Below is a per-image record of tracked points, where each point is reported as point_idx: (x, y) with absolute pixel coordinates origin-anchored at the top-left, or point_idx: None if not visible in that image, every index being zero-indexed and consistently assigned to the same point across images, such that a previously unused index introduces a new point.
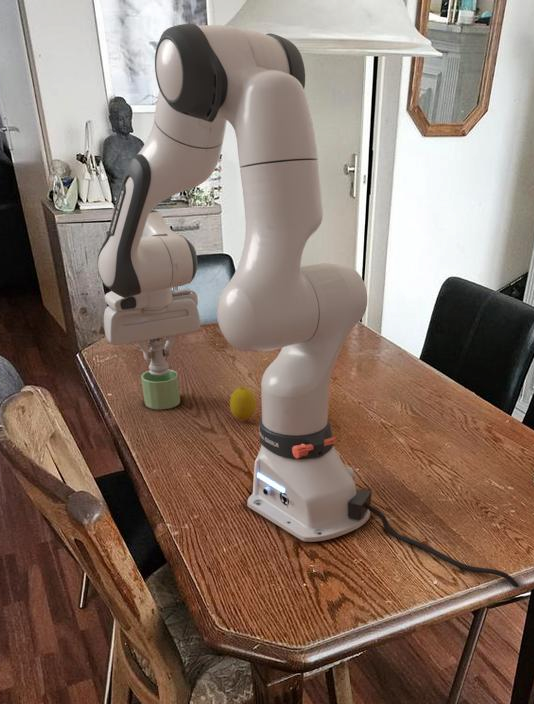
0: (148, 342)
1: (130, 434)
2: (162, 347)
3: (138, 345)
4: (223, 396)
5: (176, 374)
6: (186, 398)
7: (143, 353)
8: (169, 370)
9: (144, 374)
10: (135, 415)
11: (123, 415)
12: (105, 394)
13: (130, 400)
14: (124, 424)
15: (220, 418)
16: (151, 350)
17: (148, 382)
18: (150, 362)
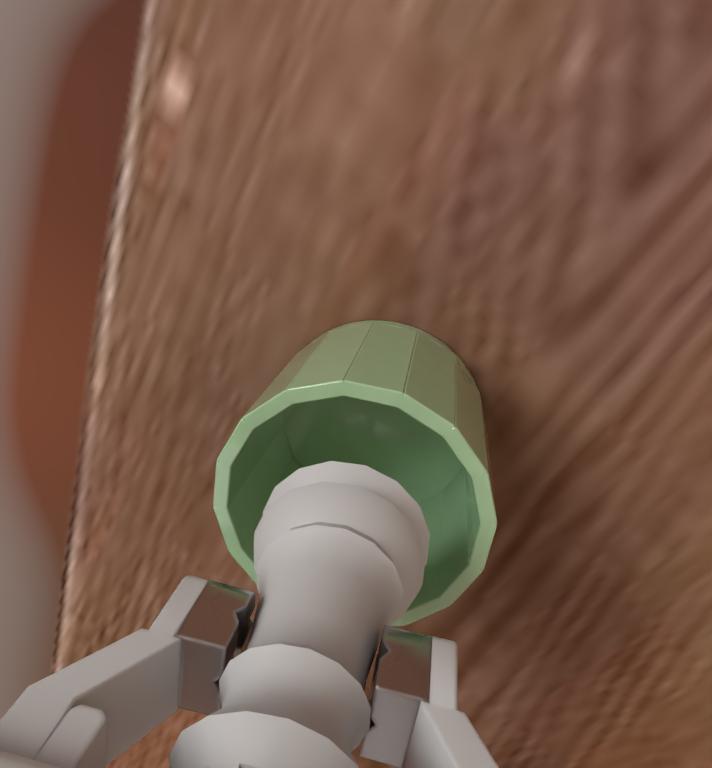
0: (175, 750)
1: (96, 580)
2: (361, 736)
3: (62, 675)
4: (693, 586)
5: (459, 582)
6: (515, 468)
7: (164, 611)
8: (474, 484)
9: (268, 419)
10: (184, 452)
11: (136, 413)
12: (152, 66)
13: (243, 270)
14: (106, 494)
15: (480, 725)
16: (221, 700)
17: (229, 541)
18: (265, 555)
